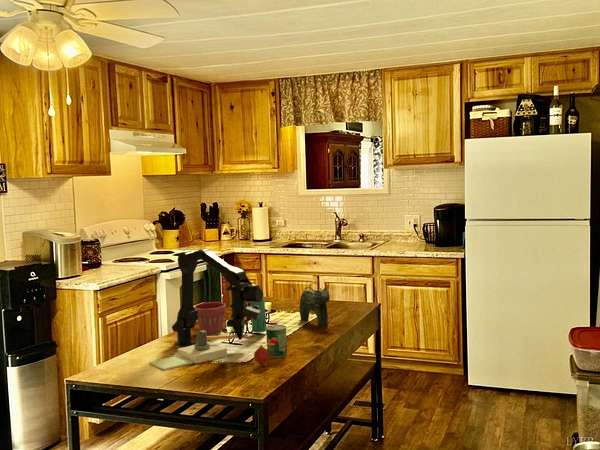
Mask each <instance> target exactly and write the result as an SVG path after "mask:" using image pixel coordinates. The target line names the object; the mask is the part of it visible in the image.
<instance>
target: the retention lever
mask: <svg viewBox="0 0 600 450" xmlns="http://www.w3.org/2000/svg"><path fill="white" fill-rule="evenodd" d="M247 338H248V334H247V333H243V336H242V339H247ZM226 339H229V340H231V339H239V338H238V337H237V335H236V334H224V335H223V334H222V335H221V334H220V335H207V341H208V340H209V341H210V340H226Z"/></svg>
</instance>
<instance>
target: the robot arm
mask: <svg viewBox="0 0 600 450" xmlns="http://www.w3.org/2000/svg"><path fill="white" fill-rule="evenodd" d="M200 260H202V261H203V262H205V263H206V264H207V265H208V266H210V267H212V268H213V269H214V270H216V271H217V272H218V273H219V274H221V275H222V276H223V278H224V280H225V281H226V282H227V284H229V285H228V286H227V287H226V288H225V291H230V300H231V302H230V303H231V304H230V308H231V314H230V318H229V319H227V321H226V323H225V324H226V327H227V328H232V329H233V330H234V333H235V335H237V337H238V338H237V339H239V340H242V339H243V338H242V336H243V334H244V330H245V325H246V324H247V323H248V322H249V320H246V318H248V319H252V318H253V319H254V320H257V319H258V318H259V314H260V310H259V306H256V305H255V306H254V307H253V308H252V307H251V306H248V305H249V304H248V303H251V302H259V303H260V302H261V301H262V299H263V298H264V292H263V289H262V288H261V285H260V284H257V285H253V282H251V281H250V279H249V278H248V276H247V273H246V271H245V270H243V269H241V268H239V267H237V266H233V265H230V264H229V263H227V262H226V261H224V260H223V259H221V258H220V257H219V256H217V255H216V254H215V253H213V252H211V251H210V249H208V248H202V249H199V250H196V251H194V250H189V251H185V252H181V253H179V255H178V256H177V265H178V269H179V270H180V272H181V300H180V301H181V303H180V304H181V305H180V308H179V310H178V312H177V316H176V321H175V323H174V324H173V325H172V326H171V328H172V329H171V330H172V331H173V332H175V333H176V337H177V338H176V339H177V341H175V342H174V345H177V346H179V347H184V346H185V347H186V346H191V345H195V341H193V340H192V333H191V332H192V331H191V329H194V328H195V326H196V323H198V320H197V319H198V310H195V308H194V279H195V278H194V275H195V274H194V273H195V270H196V269H197V267H198V261H200Z"/></svg>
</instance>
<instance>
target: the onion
mask: <svg viewBox="0 0 600 450" xmlns="http://www.w3.org/2000/svg"><path fill="white" fill-rule="evenodd" d="M270 358H271V357H270V356H269V352H268V350H267V347H264V346H263V345H262V344H260V345H259V347H258V348H257V349H256V350H255V351H254V352H253V359H254V362H255V363H257V365H259V366H260V367H264V366H265V365H266V364H267V363H268V362H269V360H270Z"/></svg>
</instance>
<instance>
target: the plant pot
mask: <svg viewBox="0 0 600 450" xmlns="http://www.w3.org/2000/svg"><path fill="white" fill-rule="evenodd" d="M193 307H194V308H195V310H198V319H197V323H198V327H199V330H206V331H207V336H217V335H219V334H221V333H222V331H223V330H222V329H223V324H224V319H225V314H226V312H227V308H226V303H225V302H219V301H212V302H211V301H209V302H201V303H199V304H198V303H197V304H195V305H193Z"/></svg>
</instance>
